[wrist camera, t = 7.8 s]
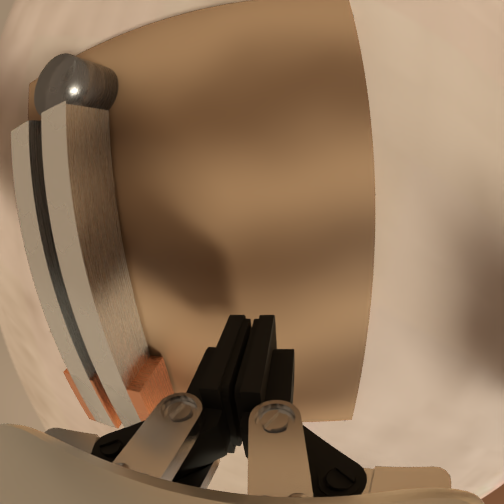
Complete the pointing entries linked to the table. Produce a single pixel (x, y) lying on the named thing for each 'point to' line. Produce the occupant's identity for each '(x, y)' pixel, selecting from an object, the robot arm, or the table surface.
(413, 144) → the table surface
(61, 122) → the tong leg
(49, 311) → the bar
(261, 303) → the board
